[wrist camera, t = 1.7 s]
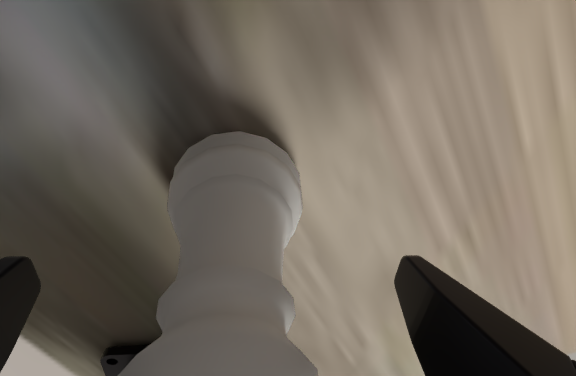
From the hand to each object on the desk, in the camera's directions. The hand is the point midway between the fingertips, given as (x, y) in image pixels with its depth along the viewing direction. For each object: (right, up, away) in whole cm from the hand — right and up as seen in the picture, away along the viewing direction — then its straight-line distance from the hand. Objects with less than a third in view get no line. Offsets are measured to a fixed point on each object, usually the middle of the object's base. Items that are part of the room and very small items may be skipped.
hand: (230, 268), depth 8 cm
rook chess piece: (0, +2, +4) cm, 4 cm away
